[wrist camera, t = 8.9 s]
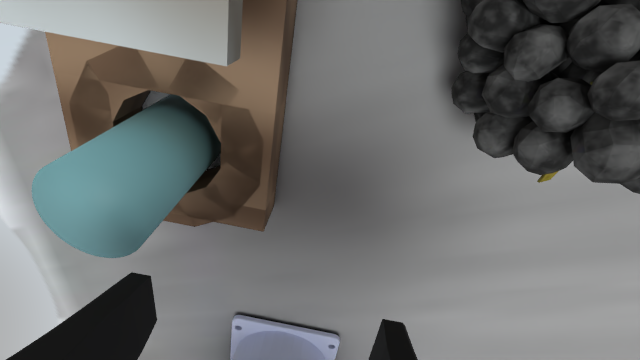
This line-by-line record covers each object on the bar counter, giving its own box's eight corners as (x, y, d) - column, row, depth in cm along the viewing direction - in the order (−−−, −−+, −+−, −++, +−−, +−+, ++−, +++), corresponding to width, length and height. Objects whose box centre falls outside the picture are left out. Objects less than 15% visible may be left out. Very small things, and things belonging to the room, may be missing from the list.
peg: (222, 170, 20) (146, 269, 13) (153, 151, 20) (41, 241, 13) (230, 105, 18) (146, 180, 11) (155, 83, 18) (22, 145, 11)
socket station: (273, 213, 21) (219, 348, 13) (111, 181, 21) (-35, 296, 13) (310, -116, 13) (235, -255, 6) (55, -163, 13) (-368, -362, 6)
